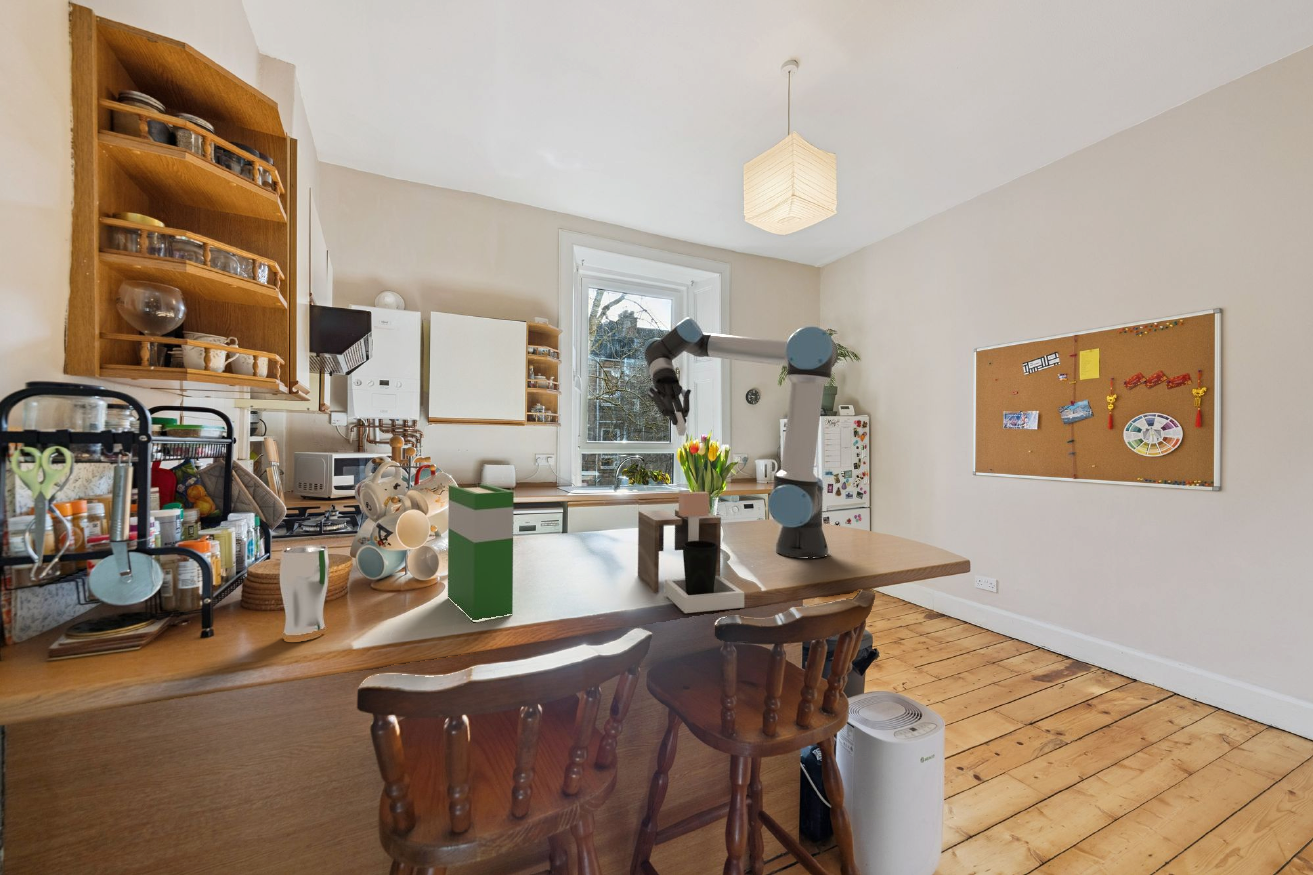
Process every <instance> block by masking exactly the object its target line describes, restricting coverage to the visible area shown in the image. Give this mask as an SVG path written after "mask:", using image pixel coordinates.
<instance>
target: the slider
mask: <svg viewBox="0 0 1313 875" xmlns="http://www.w3.org/2000/svg"><path fill="white" fill-rule="evenodd" d="M678 510H679V515H680V516H683V517H688V541H699V516H709V513H710V492H706V491H679V492H678ZM664 595H666V597H667V598H669V600H670V601H671V602H673V603H674V605H676V606H677V607H678V608H679V610H680V611H682V612H683V613H684V614H688V613H689V614H691V613H700V612H711V611H720V610H731V609H740V608H741V609H742V608H745V592H744V591H743V590H741V589H740V588H738V587H736V586H735V585H734V584H732V583H730V582H729V581H728V580H726V579H724V578H723V577H721V575H720V576H715V585H714V593H711V594H699V595H688V594H686V585H685V577H683V578H669V579H664Z"/></svg>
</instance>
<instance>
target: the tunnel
mask: <svg viewBox="0 0 1313 875" xmlns="http://www.w3.org/2000/svg"><path fill="white" fill-rule="evenodd" d="M637 514H638V517H637V518H638V521H637V522H638V524H637V526H638V527H637V531H638V533H637V542H638V543H637V576H638V578H639V579H640V580H641V581H642V582H643V583H644V584H645V585H646V586H647V587H648V588H649V589H650V590H651V591H652V592H653V593H655V594H656V593H658V594H659V584H660V582H659V578H660V576H659V572H660V571H659V570H660V569H659V568H660V567H659V566H660V552H664V549H665V548H664V544H665V543H664V539H665V538H664V530H665V527H664V526H673V525H674V551H683V546H682V544H683V543H684V542H688V517H683V516H680V515H679V509H674V514H672V513H670V512H668V511H666V510H664V509H663V510H662V509H659V510H657V509H655V510H654V509H653V510H638V513H637ZM721 531H722V517H720V516H718V515H715V514H713V513H711V512H709V516H699V541H709V542H714V543H717V544H718V555H717V565H716V575H715V576H720V577H721V553H722V552H721V549H722V548H721V546H722V543H721V542H722V541H721V540H722V539H721V536H722V532H721Z"/></svg>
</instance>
